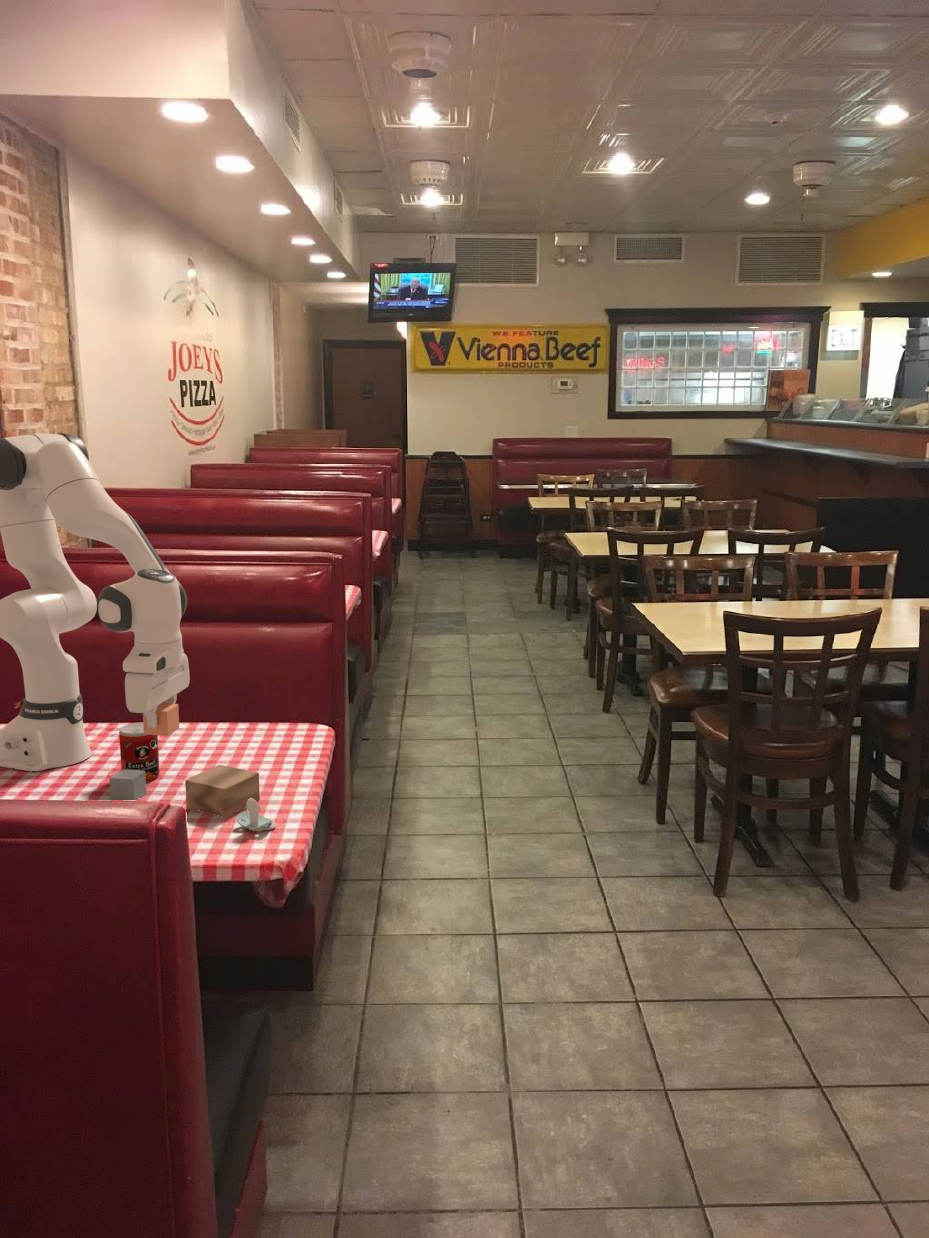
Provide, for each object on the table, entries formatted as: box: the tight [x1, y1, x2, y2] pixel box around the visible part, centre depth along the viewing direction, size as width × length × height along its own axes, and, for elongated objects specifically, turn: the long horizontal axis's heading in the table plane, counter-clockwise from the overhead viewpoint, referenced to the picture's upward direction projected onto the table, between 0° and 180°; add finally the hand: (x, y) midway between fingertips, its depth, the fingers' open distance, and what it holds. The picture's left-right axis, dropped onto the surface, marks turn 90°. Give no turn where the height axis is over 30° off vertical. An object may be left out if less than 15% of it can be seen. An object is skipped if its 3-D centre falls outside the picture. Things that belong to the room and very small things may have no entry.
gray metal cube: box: [109, 769, 147, 801], centre depth 190 cm, size 5×5×5 cm
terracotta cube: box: [142, 702, 180, 737], centre depth 187 cm, size 5×5×5 cm
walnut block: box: [184, 764, 261, 818], centre depth 188 cm, size 10×10×6 cm
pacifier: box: [236, 798, 277, 832], centre depth 177 cm, size 7×6×6 cm
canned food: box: [118, 722, 160, 783], centre depth 201 cm, size 8×8×11 cm
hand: (161, 721), depth 187 cm, fingers closed on terracotta cube, 5 cm apart
